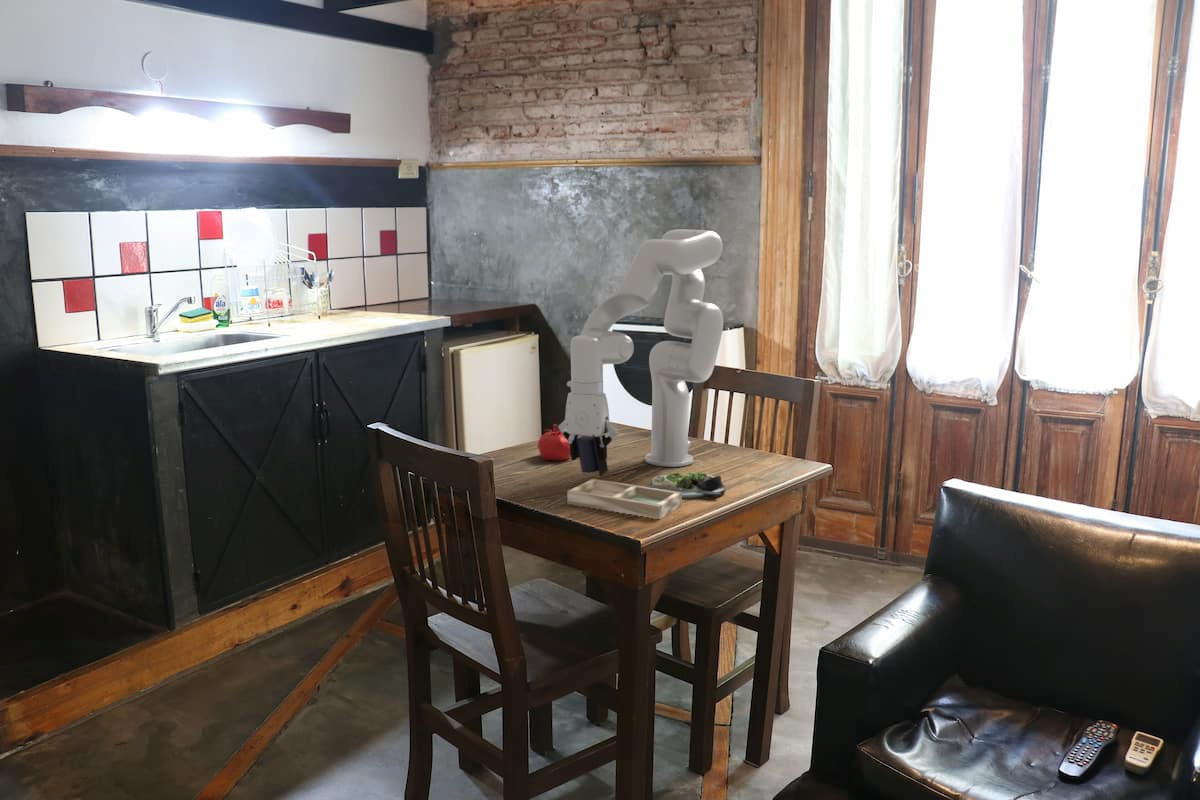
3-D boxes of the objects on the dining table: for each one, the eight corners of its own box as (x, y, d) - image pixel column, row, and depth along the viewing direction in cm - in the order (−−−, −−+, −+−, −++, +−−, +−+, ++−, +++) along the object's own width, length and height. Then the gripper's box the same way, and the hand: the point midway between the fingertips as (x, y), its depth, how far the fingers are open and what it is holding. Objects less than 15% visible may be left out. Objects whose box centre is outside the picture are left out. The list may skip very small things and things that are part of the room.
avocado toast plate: (647, 502, 225) (648, 483, 224) (637, 481, 242) (637, 463, 241) (731, 501, 227) (732, 482, 226) (715, 480, 244) (715, 462, 243)
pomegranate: (571, 464, 256) (572, 430, 254) (534, 462, 258) (534, 427, 256) (578, 454, 266) (579, 421, 264) (542, 452, 267) (542, 418, 265)
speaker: (615, 469, 239) (610, 428, 237) (600, 477, 235) (595, 434, 233) (591, 467, 244) (585, 427, 242) (576, 474, 239) (570, 433, 237)
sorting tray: (592, 490, 232) (592, 478, 232) (681, 505, 222) (681, 492, 221) (567, 504, 222) (567, 491, 221) (659, 519, 212) (659, 506, 211)
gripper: (547, 387, 235) (549, 460, 239) (612, 394, 227) (613, 469, 231) (563, 381, 242) (565, 452, 246) (627, 387, 234) (627, 460, 238)
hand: (588, 459), depth 238 cm, fingers closed on speaker, 6 cm apart
